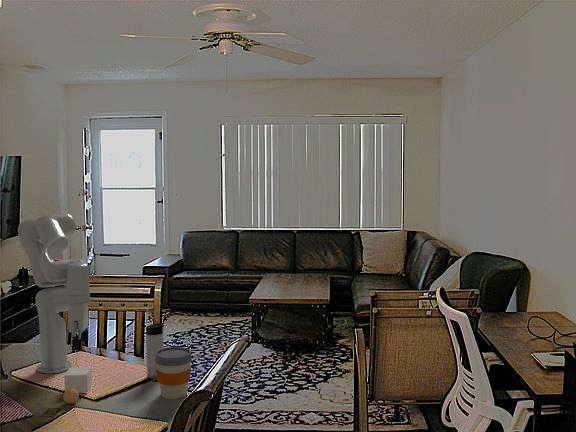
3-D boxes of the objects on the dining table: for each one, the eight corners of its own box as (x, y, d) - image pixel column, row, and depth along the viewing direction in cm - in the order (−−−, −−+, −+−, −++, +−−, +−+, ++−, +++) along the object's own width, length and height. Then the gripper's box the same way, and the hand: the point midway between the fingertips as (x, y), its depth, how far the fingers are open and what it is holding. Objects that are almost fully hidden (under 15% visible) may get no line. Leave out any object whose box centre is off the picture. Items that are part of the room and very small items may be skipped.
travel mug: (161, 379, 247) (160, 327, 244) (144, 378, 248) (143, 326, 246) (167, 373, 253) (166, 322, 250) (151, 372, 254) (149, 321, 252)
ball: (65, 400, 227) (64, 386, 227) (80, 399, 228) (79, 385, 227) (61, 406, 222) (61, 392, 222) (77, 405, 223) (76, 391, 222)
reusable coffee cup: (162, 403, 225) (161, 360, 223) (151, 390, 236) (150, 349, 234) (197, 396, 231) (196, 354, 229) (185, 384, 242) (184, 344, 240)
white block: (70, 385, 240) (69, 367, 240) (92, 385, 241) (91, 367, 240) (65, 394, 233) (64, 375, 232) (87, 393, 234) (87, 374, 233)
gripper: (74, 292, 240) (75, 338, 243) (61, 304, 223) (62, 354, 225) (95, 292, 241) (96, 338, 243) (83, 304, 224) (85, 353, 226)
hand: (80, 345), depth 234 cm, fingers open, 9 cm apart
